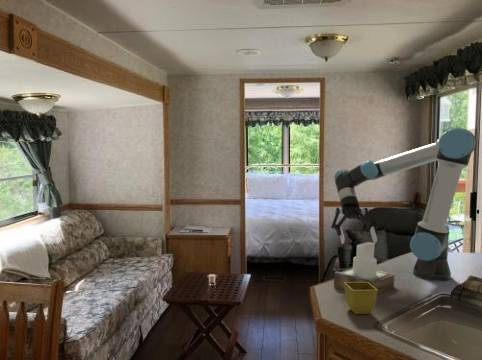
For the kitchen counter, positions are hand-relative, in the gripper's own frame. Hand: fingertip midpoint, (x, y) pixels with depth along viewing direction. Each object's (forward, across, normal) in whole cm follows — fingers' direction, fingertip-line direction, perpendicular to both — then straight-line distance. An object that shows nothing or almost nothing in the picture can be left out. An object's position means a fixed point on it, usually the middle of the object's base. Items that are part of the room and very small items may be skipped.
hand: (359, 241), depth 172 cm
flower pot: (+33, +10, +9) cm, 36 cm away
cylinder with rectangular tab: (+12, -1, -5) cm, 13 cm away
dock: (+16, 0, -8) cm, 18 cm away
